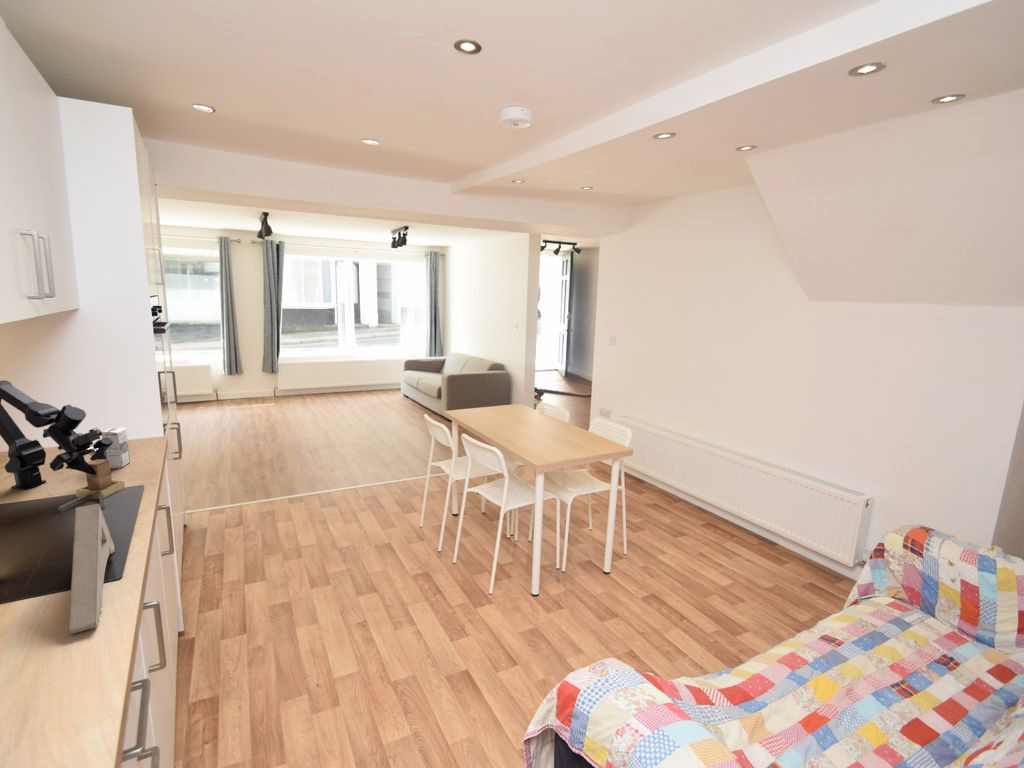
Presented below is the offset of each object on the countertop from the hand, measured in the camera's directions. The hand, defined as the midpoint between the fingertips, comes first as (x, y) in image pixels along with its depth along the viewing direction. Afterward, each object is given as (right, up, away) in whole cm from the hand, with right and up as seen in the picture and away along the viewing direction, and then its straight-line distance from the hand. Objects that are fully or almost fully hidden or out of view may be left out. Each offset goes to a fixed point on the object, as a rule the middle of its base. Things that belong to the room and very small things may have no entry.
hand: (101, 471), depth 168 cm
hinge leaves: (+1, -9, -3) cm, 9 cm away
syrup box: (-14, -2, +24) cm, 28 cm away
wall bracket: (+38, -20, -48) cm, 64 cm away
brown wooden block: (-2, -6, +2) cm, 7 cm away
